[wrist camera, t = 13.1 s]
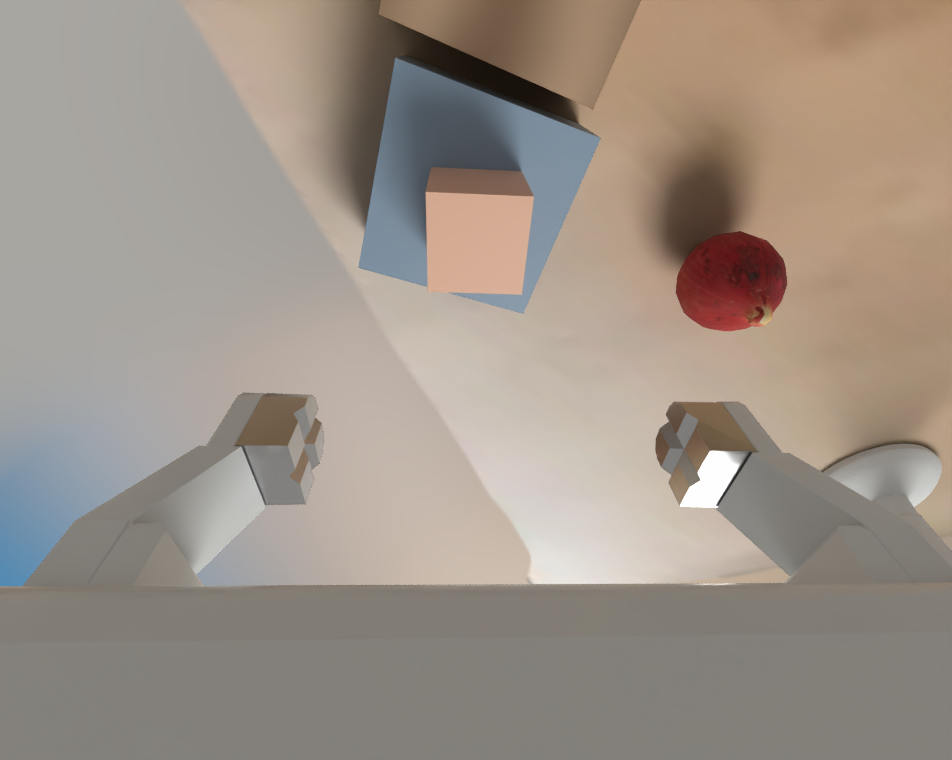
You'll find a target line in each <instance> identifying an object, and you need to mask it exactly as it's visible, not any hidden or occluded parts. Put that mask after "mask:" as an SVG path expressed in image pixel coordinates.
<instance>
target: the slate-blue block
mask: <svg viewBox="0 0 952 760" xmlns="http://www.w3.org/2000/svg"><path fill="white" fill-rule="evenodd" d="M600 139H601V138H600V137H598V136H597V135H595V134H594V133H592V132H591V131H589V130H587V129H586V128H584V127H583V126H581V125H580V124H578V123H575V122H573V121H570V120H568V119H565V118H563V117H560V116H558V115H555V114H552V113H550V112H547V111H545V110H542V109H540V108H537V107H535V106H532V105H530V104H527V103H525V102H522V101H520V100H517V99H514V98H512V97H509V96H507V95H504V94H502V93H499V92H497V91H494V90H492V89H489V88H487V87H484V86H482V85H479V84H476V83H474V82H471V81H469V80H466V79H464V78H461V77H459V76H456V75H454V74H451V73H449V72H446V71H444V70H441V69H438V68H436V67H433V66H431V65H428V64H426V63H423V62H421V61H418V60H416V59H413V58H411V57H408V56H406V55H404V56H400V57H396V58H395V62H394V67H393V73H392V79H391V85H390V90H389V96H388V102H387V107H386V113H385V119H384V125H383V130H382V136H381V142H380V148H379V153H378V159H377V165H376V170H375V176H374V182H373V188H372V193H371V199H370V205H369V210H368V216H367V222H366V228H365V233H364V239H363V245H362V251H361V256H360V262H359V268H361V269H365V270H369V271H372V272H376V273H379V274H383V275H386V276H390V277H394V278H397V279H401V280H404V281H408V282H411V283H415V284H419V285H422V286H426V287H428V280H427V232H426V188H427V184H428V179H429V174H430V170H431V167H441V168H463V169H484V170H506V171H522V173H523V175H524V177H525V179H526V181H527V183H528V185H529V187H530V189H531V191H532V193H533V195H534V201H533V209H532V217H531V225H530V233H529V241H528V249H527V257H526V265H525V273H524V281H523V290H522V295H516V294H483V293H451V294H454V295H458V296H462V297H465V298H469V299H472V300H476V301H479V302H483V303H487V304H490V305H494V306H497V307H501V308H504V309H508V310H512V311H515V312H519V313H522V314H523V313H524V310H525V308H526V306H527V304H528V301H529V299H530V297H531V295H532V292H533V290H534V288H535V286H536V283H537V281H538V279H539V277H540V274H541V272H542V270H543V267H544V265H545V263H546V261H547V258H548V256H549V254H550V252H551V249H552V247H553V245H554V243H555V240H556V238H557V236H558V234H559V231H560V229H561V227H562V224H563V222H564V220H565V218H566V215H567V213H568V211H569V209H570V206H571V204H572V202H573V200H574V197H575V195H576V193H577V191H578V188H579V186H580V184H581V181H582V179H583V177H584V175H585V172H586V170H587V168H588V166H589V163H590V161H591V159H592V157H593V154H594V152H595V150H596V148H597V145H598V143H599V141H600ZM447 293H450V292H447Z"/></svg>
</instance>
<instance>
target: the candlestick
mask: <svg viewBox="0 0 952 760" xmlns="http://www.w3.org/2000/svg"><path fill="white" fill-rule="evenodd" d="M941 470H942V464H941V461H940V459H939V458H938V456H937V455H936V454H934V453H933V452H932V451H931V450H930V449H928V448H926V447H923V446H920V445H915V444H892V445H885V446H880V447H876V448H872V449H869V450H866V451H863V452H860V453H857V454H855V455H852V456H850V457H848V458H846V459H844V460H842V461H840V462H838V463H836V464H834V465H833V466H831V467H830V468H828V469H826V470H825V471H824V472H823V473H824V474H826V475H828V476H829V477H831V478H833V479H835V480H836V481H838V482H840V483H841V484H843V485H845V486H847V487H848V488H850V489H852V490H853V491H855V492H857V493H859V494H860V495H862V496H864V497H865V498H867V499H869V500H871V501H872V502H874V503H876V504H877V505H879V506H881V507H883V508H884V509H886V510H888V511H889V512H891V513H893V514H895V515H896V516H898V517H900V518H901V519H903V520H905V521H907V522H908V523H910V524H912V525H913V527H914V528H915V529H916V530H917V531H918V532H919V533H920V534H921V535H922V536H923V537H924V538H925V539H926V541H927V542H928V543H929V544H930V545H931V546H932V547H933V548H934V549H935V550H936V551H937V552H938V553H939V555H940V556H941V557H942V558H943V559H944V560H945V561H946V562H947V563H948V564H949V565H950V566H951V567H952V551H951V550H950V549H949V548H948V546H947V545H946V544H945V543H944V542H943V541H942V540H941V538H940V537H939V536H938V535H937V534H936V533H935V532H934V530H933V529H932V528H931V527H930V526H929V525H928V524H927V522H926V521H925V520H924V519H923V517H922V516H921V515H920V514H918V513H917V511H916V510H915V508H914V507H915V506H916V505H917V504H919V503H920V502H921V501H923V500H924V499H925V498H926V497H927V496H928V495H929V494H930V493H931V492H932V490H933V489H934V487H935V486H936V484H937V482H938V480H939V478H940V475H941Z"/></svg>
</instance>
